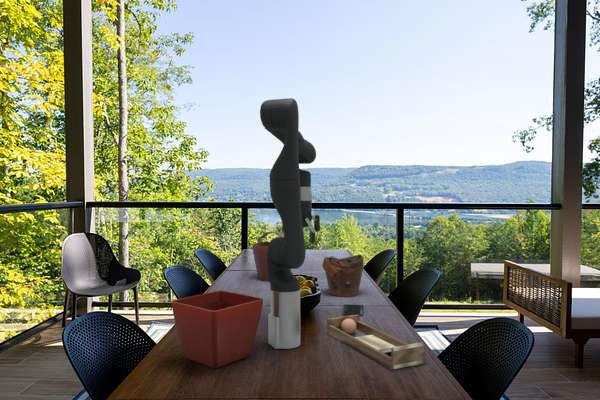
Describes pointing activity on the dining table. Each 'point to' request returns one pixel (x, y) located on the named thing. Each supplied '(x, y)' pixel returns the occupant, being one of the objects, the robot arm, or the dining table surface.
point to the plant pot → (217, 326)
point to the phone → (352, 310)
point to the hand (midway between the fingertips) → (301, 243)
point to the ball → (348, 326)
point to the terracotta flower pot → (343, 275)
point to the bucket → (262, 256)
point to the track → (377, 344)
